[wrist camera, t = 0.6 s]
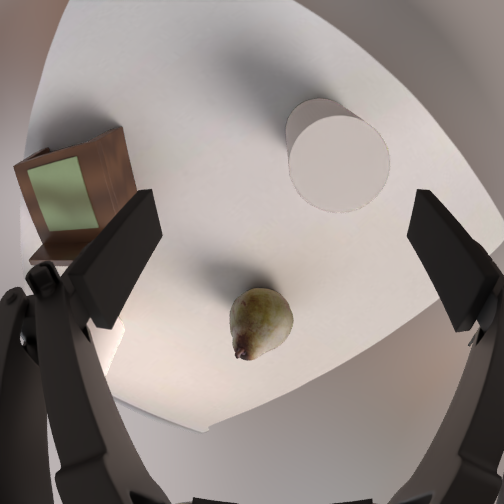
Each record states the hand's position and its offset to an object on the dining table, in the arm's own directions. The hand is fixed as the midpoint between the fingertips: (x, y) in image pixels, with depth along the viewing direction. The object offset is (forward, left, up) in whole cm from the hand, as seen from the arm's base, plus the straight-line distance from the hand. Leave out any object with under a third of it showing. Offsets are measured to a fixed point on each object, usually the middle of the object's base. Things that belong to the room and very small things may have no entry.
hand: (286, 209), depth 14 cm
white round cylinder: (+1, +4, -21) cm, 22 cm away
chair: (+5, -28, -21) cm, 35 cm away
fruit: (+27, -4, -21) cm, 35 cm away
